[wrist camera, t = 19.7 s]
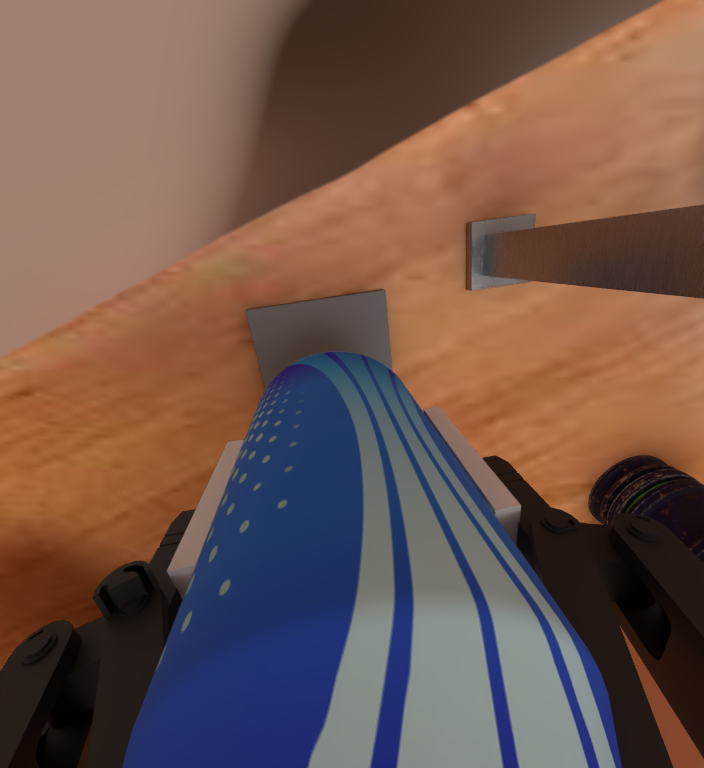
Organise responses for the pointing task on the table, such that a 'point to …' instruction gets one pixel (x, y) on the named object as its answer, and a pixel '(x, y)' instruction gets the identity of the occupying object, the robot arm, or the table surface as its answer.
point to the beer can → (365, 606)
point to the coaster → (320, 330)
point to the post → (592, 252)
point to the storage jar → (652, 498)
